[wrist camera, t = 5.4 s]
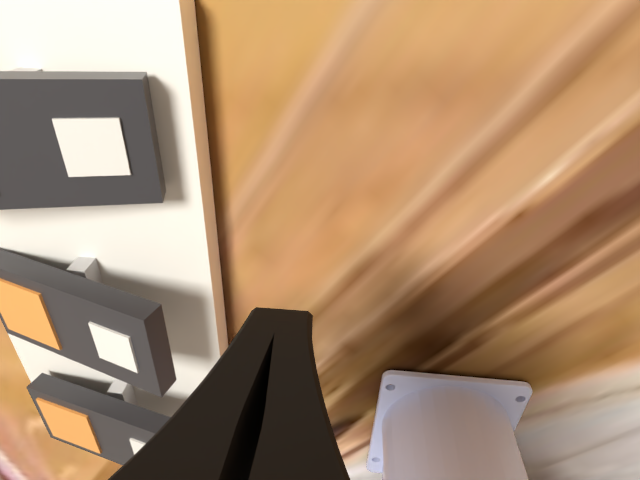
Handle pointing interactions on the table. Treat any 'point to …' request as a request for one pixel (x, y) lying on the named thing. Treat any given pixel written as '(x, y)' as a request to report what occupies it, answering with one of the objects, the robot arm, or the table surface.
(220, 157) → the table surface
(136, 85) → the rocker near
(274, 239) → the table surface
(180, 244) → the switch strip
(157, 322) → the rocker middle
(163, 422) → the rocker far
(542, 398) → the table surface
